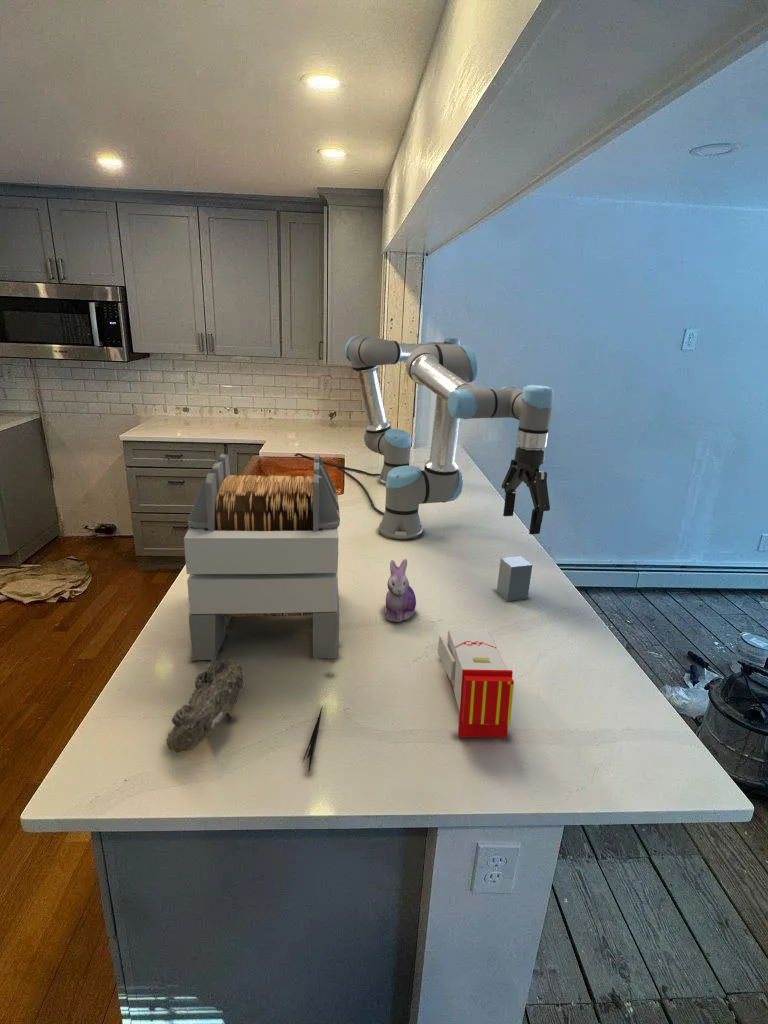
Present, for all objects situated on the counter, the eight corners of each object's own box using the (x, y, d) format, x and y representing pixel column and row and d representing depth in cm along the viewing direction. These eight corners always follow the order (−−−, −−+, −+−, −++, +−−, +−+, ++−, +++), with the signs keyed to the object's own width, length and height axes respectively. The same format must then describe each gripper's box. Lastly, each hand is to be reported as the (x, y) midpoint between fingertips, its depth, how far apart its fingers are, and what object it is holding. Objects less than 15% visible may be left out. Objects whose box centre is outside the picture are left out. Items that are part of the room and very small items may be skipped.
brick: (527, 598, 159) (532, 565, 155) (507, 601, 157) (511, 567, 153) (516, 588, 164) (520, 555, 160) (496, 591, 162) (500, 558, 158)
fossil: (192, 660, 117) (244, 628, 112) (224, 691, 120) (276, 661, 115) (142, 746, 98) (202, 712, 93) (182, 779, 101) (242, 748, 96)
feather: (331, 679, 122) (336, 673, 122) (307, 777, 96) (313, 769, 95) (324, 675, 122) (329, 669, 121) (298, 772, 95) (304, 764, 95)
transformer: (215, 589, 155) (206, 444, 141) (335, 588, 159) (337, 446, 145) (189, 663, 124) (173, 484, 110) (339, 659, 127) (342, 486, 113)
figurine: (392, 627, 141) (395, 572, 136) (374, 608, 149) (376, 556, 144) (425, 619, 145) (429, 566, 140) (405, 601, 154) (408, 550, 149)
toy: (488, 613, 130) (523, 677, 101) (484, 667, 133) (517, 744, 104) (435, 612, 130) (455, 676, 101) (432, 666, 133) (451, 743, 103)
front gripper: (572, 459, 136) (559, 540, 143) (518, 436, 158) (509, 508, 165) (545, 460, 133) (533, 543, 141) (494, 437, 156) (486, 509, 163)
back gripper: (468, 374, 263) (464, 420, 270) (446, 368, 285) (443, 410, 292) (453, 374, 261) (449, 420, 268) (432, 368, 283) (429, 411, 290)
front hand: (520, 524), depth 153 cm, fingers open, 13 cm apart
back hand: (446, 415), depth 280 cm, fingers open, 13 cm apart
